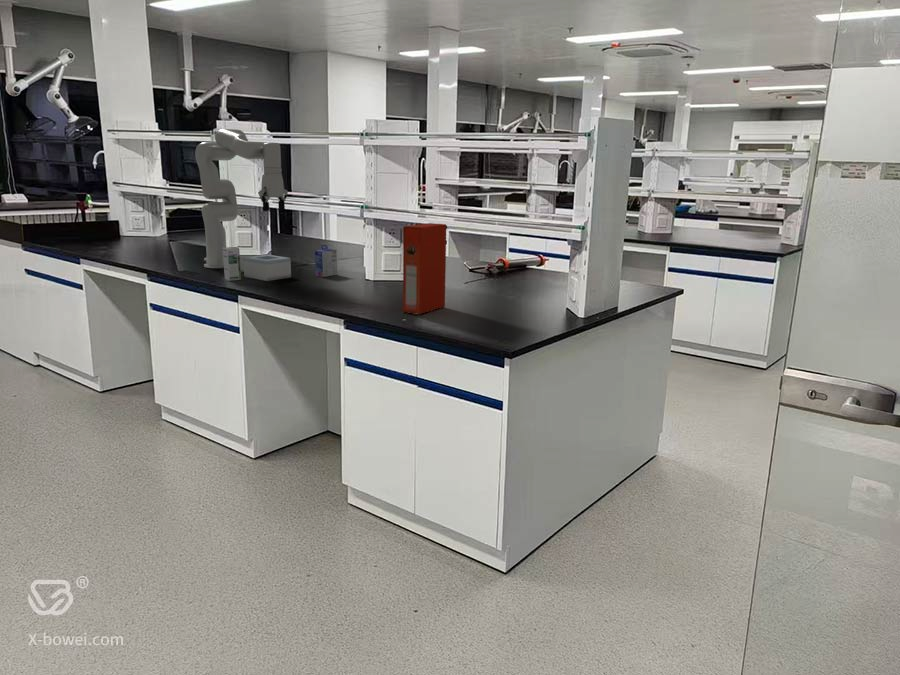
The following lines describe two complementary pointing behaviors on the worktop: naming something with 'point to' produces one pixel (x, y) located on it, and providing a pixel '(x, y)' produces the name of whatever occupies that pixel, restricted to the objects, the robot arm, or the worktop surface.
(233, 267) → the syrup box
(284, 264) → the drop box
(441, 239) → the file binder
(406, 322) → the worktop surface
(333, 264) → the ink cartridge box
